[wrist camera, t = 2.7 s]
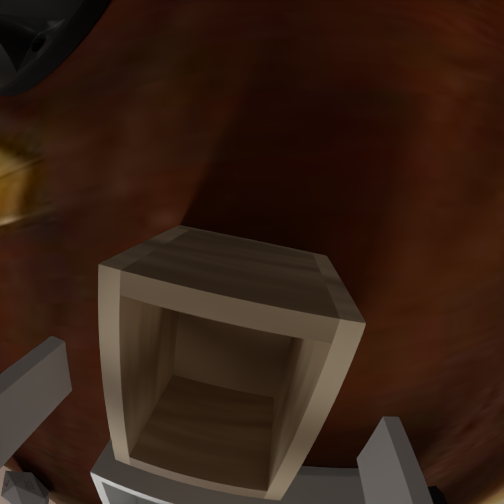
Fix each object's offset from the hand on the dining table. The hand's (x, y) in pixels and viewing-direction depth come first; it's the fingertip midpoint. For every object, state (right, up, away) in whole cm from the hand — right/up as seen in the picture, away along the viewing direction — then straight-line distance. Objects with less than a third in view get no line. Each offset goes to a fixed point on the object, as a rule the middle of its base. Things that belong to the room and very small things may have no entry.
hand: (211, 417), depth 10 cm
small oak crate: (+1, +2, +7) cm, 7 cm away
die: (-35, -32, +18) cm, 51 cm away
